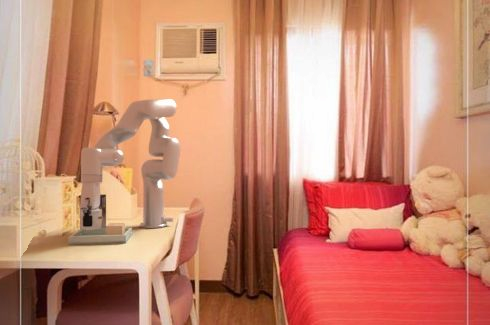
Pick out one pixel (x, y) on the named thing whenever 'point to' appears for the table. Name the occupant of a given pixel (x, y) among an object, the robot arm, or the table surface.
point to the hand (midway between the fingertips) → (91, 224)
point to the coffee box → (102, 207)
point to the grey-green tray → (98, 237)
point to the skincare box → (95, 220)
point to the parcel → (115, 229)
